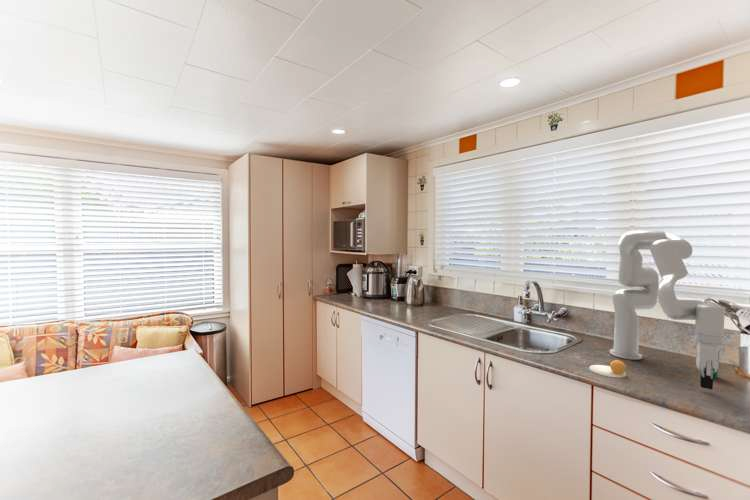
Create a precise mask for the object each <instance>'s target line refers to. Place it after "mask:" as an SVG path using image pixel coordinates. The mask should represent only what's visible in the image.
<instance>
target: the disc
mask: <svg viewBox="0 0 750 500" xmlns="http://www.w3.org/2000/svg"><path fill="white" fill-rule="evenodd" d="M588 369H589V370H590V371H591V372H593V373H595V374H597V375H600V376H602V377H603V376H604V377H609V378H615V379H617V378H618V379H619V378H620V379H621V378H625V377H626V376H627V373H626V371H625V372H624V373H623V374H616V373H614V372H613V371H612V370H611V368H610V365H605V364H593V365H590V366H589V368H588Z"/></svg>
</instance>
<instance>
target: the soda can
mask: <svg viewBox="0 0 750 500" xmlns="http://www.w3.org/2000/svg"><path fill="white" fill-rule="evenodd" d="M719 360H720V350H719V349H718V364H717V372H715V373H714V372H713V379H717V378H718V377H719V365H720V364H719V362H720V361H719Z"/></svg>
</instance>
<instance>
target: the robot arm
mask: <svg viewBox="0 0 750 500" xmlns="http://www.w3.org/2000/svg"><path fill="white" fill-rule="evenodd" d="M618 249H619V263H618V264H619V267H618V282H619V284H620V285H621V286H622V287H628V288H627V289H626V288H625V289H624V288H623V289H619V290H617V291H615V292H614V293H613V295H612V302H613V310H614V326H613V329H614V330H613V331H614V332H613V348H611V349H609V354H610V355H612V356H614V357H617V358H621V359H625V360H631V361H633V360H634V361H635V360H637V361H638V360H642V359H643V355H642V354H641V353H639V346H640V345H639V341H640V318H639V316H638V313H637V312H636V310H639V311H640V310H651V309H653V308H655V306H656V304H657V301H658V303H659V305H660V307H661V309H662V312H663V313H664V314H665V316H666V317H667V318H668V319H671V320H675V321H676V320H677V321H685V320H686V321H694V341H695V342H697V346H696V358H695V365H696V368H697V369H698V370H699V371H700V374H701V375H700V379H699V382H700V383H699V386H700V388H702V389H708V390H713V388H714V378H713V372H714V373H715V372H717V364H718V350H719V346H723V345H724V334H725V333H724V332H725V316H726V315H725V314H726V313H725V312H726V310H725V308H724V307H723V306H720V305H717V304H712V303H707V302H705V301H702V300H697V299H678V298H677V296H676V293H675V284H676V283H677V282H678V281H679V280H682V279H684V278H686V277H687V276H688V275H689V271H688V269H687V267H686V265H685V263H684V261H683V260H687V259H689V258H690V257H691V256H692V254H693V247H692V245H691V243H690V242H689V241H687V240H685V239H684V238H682V237H679V236H676V235H674V234H671V233H670V232H667V231H662V230H632V231H628V232H626V233H624V234H623V235H622V236H620V239H619V241H618ZM641 250H642V251H643V250H648V251H650V253H651V257H652V258H653V261H654V264H655V265H656V268H657V270H658V272H657V271H656V269H655V268H652V267H650V266H643V256H642V254H641V252H640V251H641ZM658 273H659V274H658ZM659 275H660V277H661V280H659V278H660V277H659ZM631 288H632V289H631ZM634 288H635V289H634Z"/></svg>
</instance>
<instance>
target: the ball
mask: <svg viewBox="0 0 750 500" xmlns="http://www.w3.org/2000/svg"><path fill="white" fill-rule="evenodd" d="M609 366H610V368H611V370H612V371H613V372H614V373H616V374H623V373H624V372H625V373H626V371H627V367H626V366H627V365H626V364H625V362H623V361H621V360H619V359H614V360H612V361H611V362H610V364H609Z"/></svg>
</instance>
